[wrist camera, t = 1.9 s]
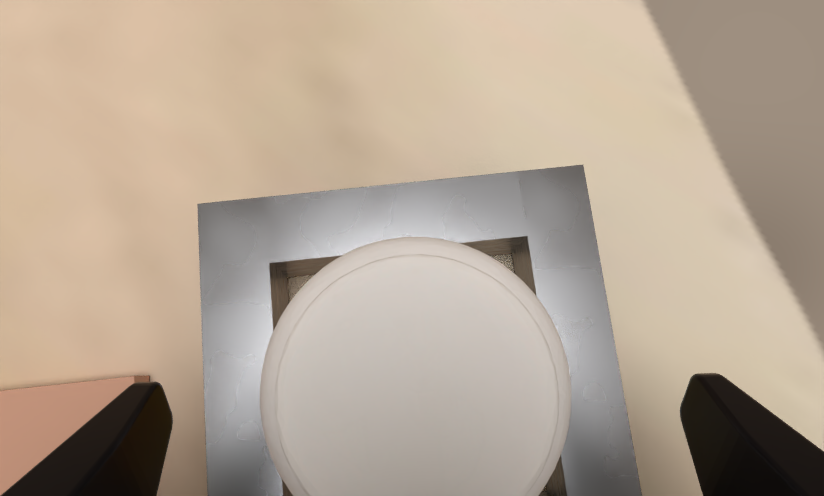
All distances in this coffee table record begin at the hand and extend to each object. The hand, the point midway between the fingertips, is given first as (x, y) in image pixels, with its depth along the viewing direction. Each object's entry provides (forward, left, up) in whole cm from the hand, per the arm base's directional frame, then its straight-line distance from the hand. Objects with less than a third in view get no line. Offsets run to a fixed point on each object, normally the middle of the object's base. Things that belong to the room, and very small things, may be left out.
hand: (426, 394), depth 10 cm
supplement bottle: (0, 0, -8) cm, 8 cm away
